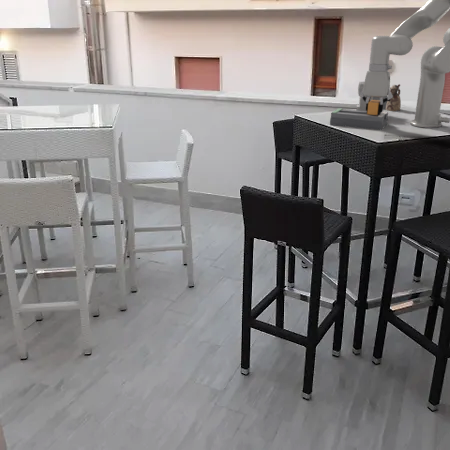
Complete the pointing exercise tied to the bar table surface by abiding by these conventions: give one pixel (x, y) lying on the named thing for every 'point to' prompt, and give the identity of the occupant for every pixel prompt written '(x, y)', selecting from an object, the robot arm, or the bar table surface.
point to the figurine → (394, 99)
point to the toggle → (373, 107)
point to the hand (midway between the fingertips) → (373, 112)
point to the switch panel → (357, 123)
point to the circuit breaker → (362, 104)
